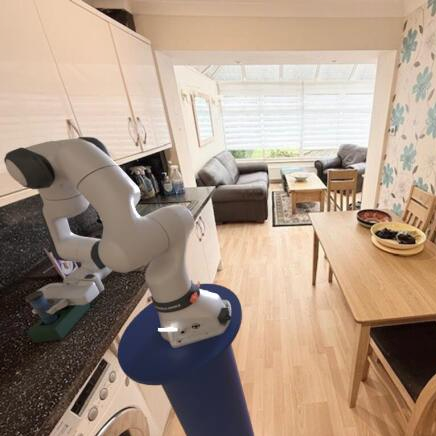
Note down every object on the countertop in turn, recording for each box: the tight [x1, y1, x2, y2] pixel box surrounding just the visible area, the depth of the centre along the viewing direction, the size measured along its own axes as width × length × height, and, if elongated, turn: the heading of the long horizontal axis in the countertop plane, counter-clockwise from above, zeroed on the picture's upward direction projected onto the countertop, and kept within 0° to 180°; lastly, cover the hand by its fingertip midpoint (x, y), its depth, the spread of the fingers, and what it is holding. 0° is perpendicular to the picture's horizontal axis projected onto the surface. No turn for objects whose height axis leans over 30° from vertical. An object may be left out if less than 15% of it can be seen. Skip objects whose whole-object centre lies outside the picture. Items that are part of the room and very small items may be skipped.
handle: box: [25, 290, 58, 325], centre depth 76 cm, size 4×4×15 cm
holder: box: [26, 303, 91, 344], centre depth 81 cm, size 8×14×5 cm, turn 7°
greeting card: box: [42, 246, 79, 280], centre depth 103 cm, size 11×7×15 cm, turn 20°
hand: (41, 312), depth 75 cm, fingers closed on handle, 3 cm apart
